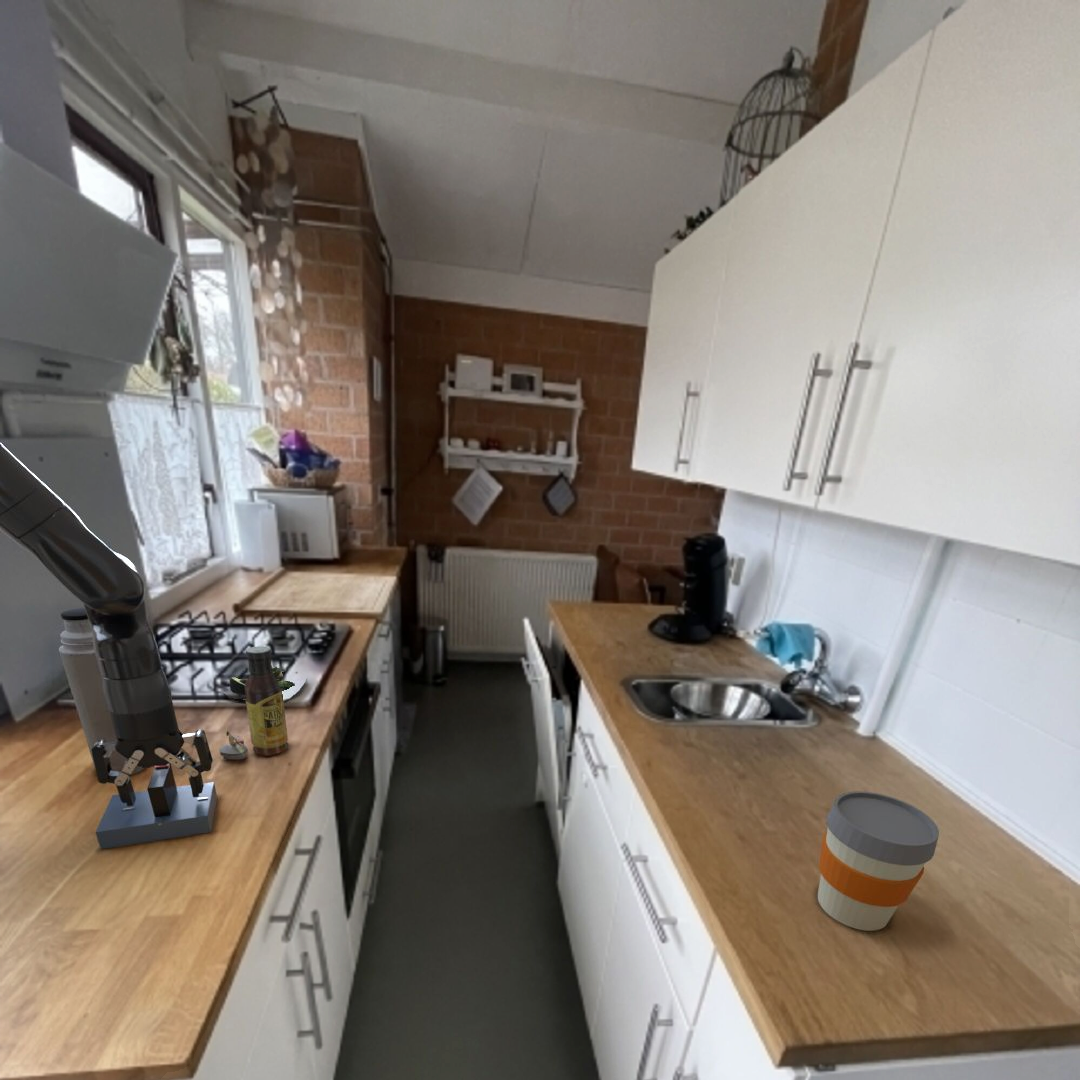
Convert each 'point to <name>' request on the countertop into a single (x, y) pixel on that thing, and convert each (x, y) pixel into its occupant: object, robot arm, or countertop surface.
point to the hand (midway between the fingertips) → (165, 798)
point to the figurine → (234, 748)
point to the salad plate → (239, 684)
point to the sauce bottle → (264, 704)
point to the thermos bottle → (87, 683)
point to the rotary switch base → (156, 818)
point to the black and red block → (162, 790)
